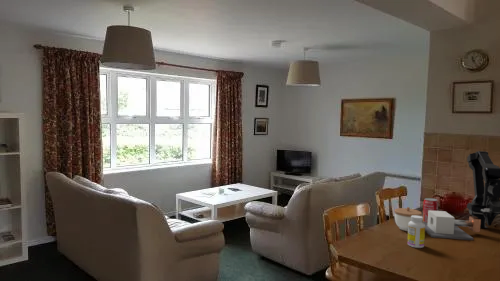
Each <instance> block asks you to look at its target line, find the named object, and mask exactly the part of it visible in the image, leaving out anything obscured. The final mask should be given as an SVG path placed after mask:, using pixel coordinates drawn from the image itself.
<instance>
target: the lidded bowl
mask: <svg viewBox="0 0 500 281" xmlns="http://www.w3.org/2000/svg"><path fill="white" fill-rule="evenodd" d="M412 215H417V216H421V217H423V211H421V210H418V209H415V208H414V209H413V208H410V207H408V206H407V207H406V208H405V207H401V208H399V207H398V208H395V209H394V222H395V224H396V226H397V227H398V228H399V230H401V231H405V232H408V223H409V222H410V221H411V216H412Z"/></svg>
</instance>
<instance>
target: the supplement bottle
mask: <svg viewBox="0 0 500 281" xmlns="http://www.w3.org/2000/svg"><path fill="white" fill-rule="evenodd" d="M425 236H426V232H425V223H424V222H423V216H422V217H421V216H417V215H412V216H411V221H410V222H409V223H408V231H407V245H408V246H409V247H412V248H416V249H421V248H422V249H423V248H424V247H425V238H426V237H425Z"/></svg>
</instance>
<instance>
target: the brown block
mask: <svg viewBox="0 0 500 281" xmlns="http://www.w3.org/2000/svg"><path fill="white" fill-rule="evenodd" d="M480 223H481V219H479V218H477V217H473V216H472V215H471V216H470V215H469V217H468V220H466V219H465V220H464V219H454V226H457V227H465V228H467V227H468V229H469V230H470V231H471V232H478V233H481V228H480Z"/></svg>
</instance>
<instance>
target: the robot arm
mask: <svg viewBox="0 0 500 281" xmlns="http://www.w3.org/2000/svg"><path fill="white" fill-rule="evenodd" d="M466 161H467V163H468V167H469V168H470V170H472V178H473V190H474V191H473V192H474V197H473V199H472V200H471V202H468V203H467V204H466V209H468V213H469V214H470V215H471V216H472V217H477V218H479V219H481V223H480V229H489V227H490V226H491V225H492V223H493V222H494V220H495V218H496V217H497V216H498V215H500V166H499V165H496V164H494V162H493V161H492V159H491V158H490V156H489V152H488V151H485V150H484V151H483V150H478V151H475V152H473V153H469V154H468V155H467V158H466ZM486 224H487V226H486ZM488 226H489V227H488Z"/></svg>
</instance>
